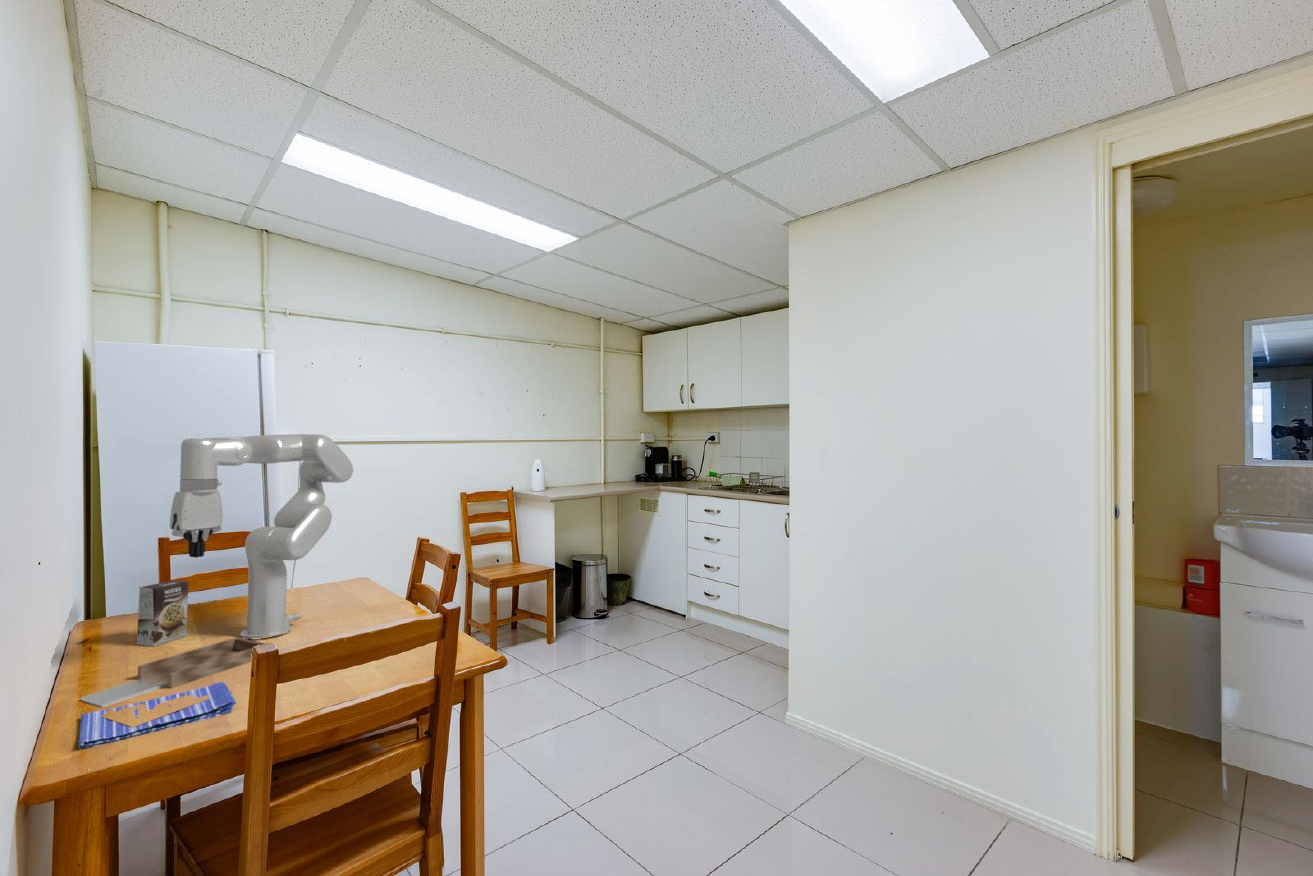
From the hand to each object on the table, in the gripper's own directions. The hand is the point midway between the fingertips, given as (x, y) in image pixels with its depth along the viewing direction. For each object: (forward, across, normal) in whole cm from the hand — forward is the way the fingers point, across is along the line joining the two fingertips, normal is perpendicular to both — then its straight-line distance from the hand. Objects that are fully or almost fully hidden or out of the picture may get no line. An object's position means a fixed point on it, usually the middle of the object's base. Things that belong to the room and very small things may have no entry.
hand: (196, 556), depth 147 cm
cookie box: (+27, -6, -25) cm, 38 cm away
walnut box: (+27, +2, +9) cm, 29 cm away
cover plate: (+28, +19, +9) cm, 35 cm away
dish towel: (+28, +20, +26) cm, 43 cm away
